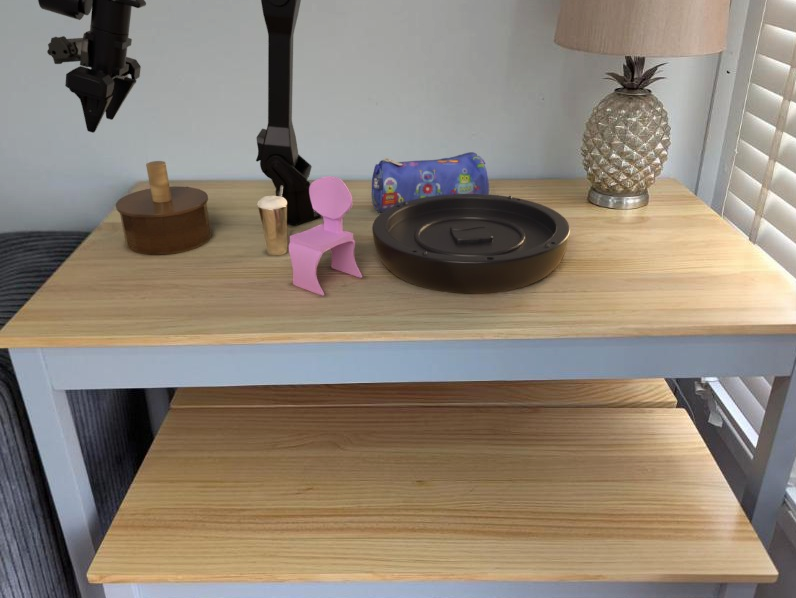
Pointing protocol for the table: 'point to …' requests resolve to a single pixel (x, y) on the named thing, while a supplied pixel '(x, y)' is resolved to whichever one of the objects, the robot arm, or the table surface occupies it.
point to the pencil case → (427, 179)
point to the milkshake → (274, 222)
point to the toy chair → (324, 235)
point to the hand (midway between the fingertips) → (100, 125)
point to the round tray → (470, 242)
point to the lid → (161, 196)
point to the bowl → (167, 232)
